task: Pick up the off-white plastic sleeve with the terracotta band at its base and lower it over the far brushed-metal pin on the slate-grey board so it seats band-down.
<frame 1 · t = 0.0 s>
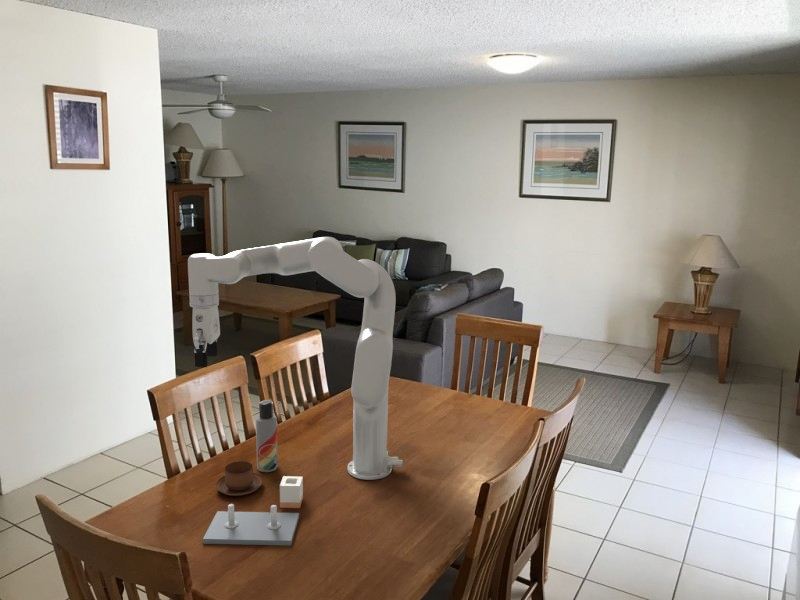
hand: (206, 361, 180), 31 cm above the table, tool pointing down, fingers open, 9 cm apart
cup and saucer: (239, 489, 175), on the table
sleeve: (291, 502, 168), on the table
lotion bottle: (267, 468, 187), on the table
pin board: (252, 530, 155), on the table
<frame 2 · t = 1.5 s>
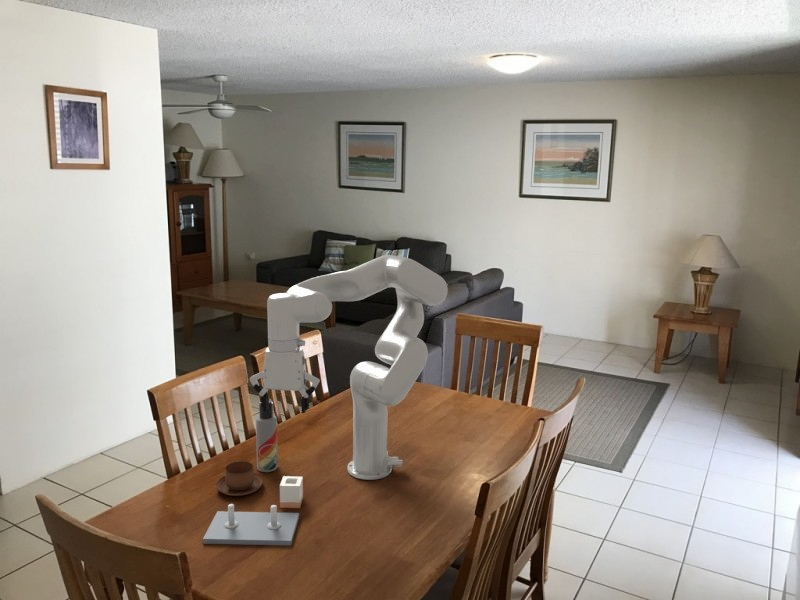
hand: (285, 410, 164), 25 cm above the table, tool pointing down, fingers open, 9 cm apart
nothing on the table moved.
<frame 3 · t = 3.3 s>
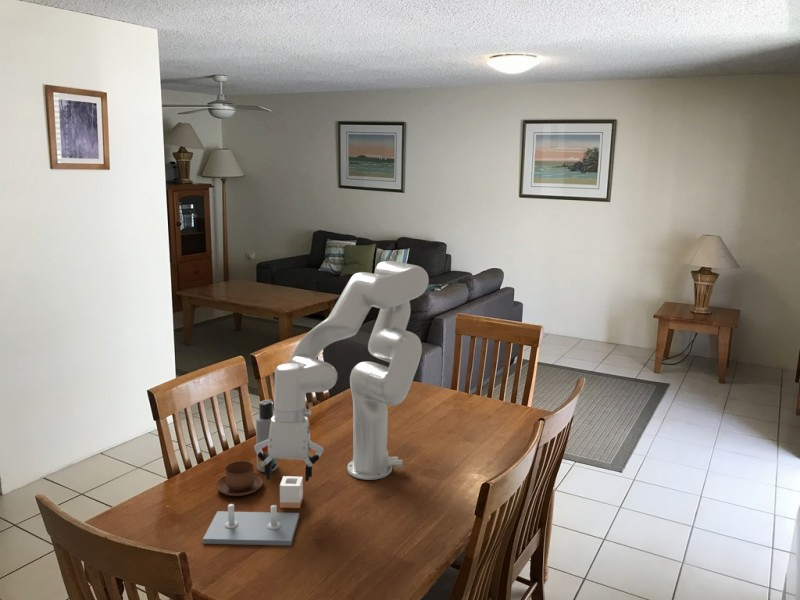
hand: (288, 478, 166), 7 cm above the table, tool pointing down, fingers open, 9 cm apart
nothing on the table moved.
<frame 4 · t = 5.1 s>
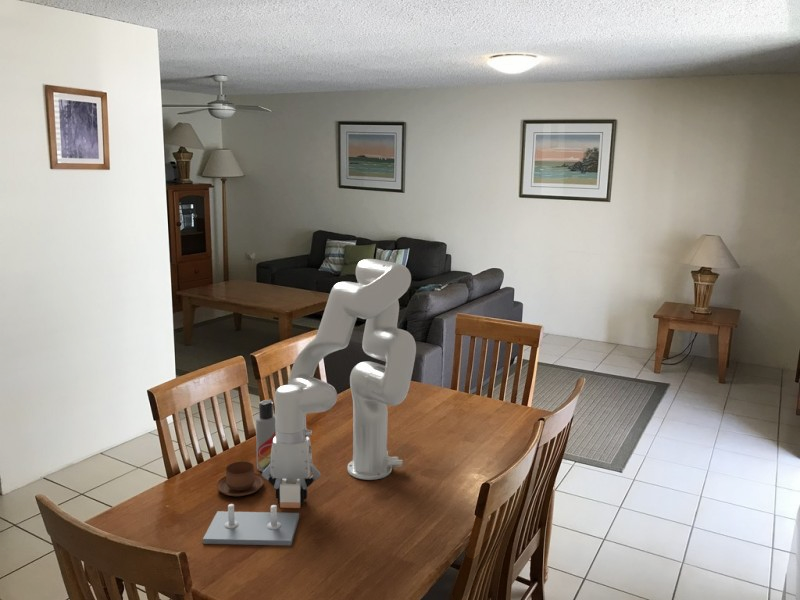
hand: (291, 500, 168), 1 cm above the table, tool pointing down, fingers closed on sleeve, 5 cm apart
sleeve: (291, 502, 168), on the table, touching gripper
everything else where it was.
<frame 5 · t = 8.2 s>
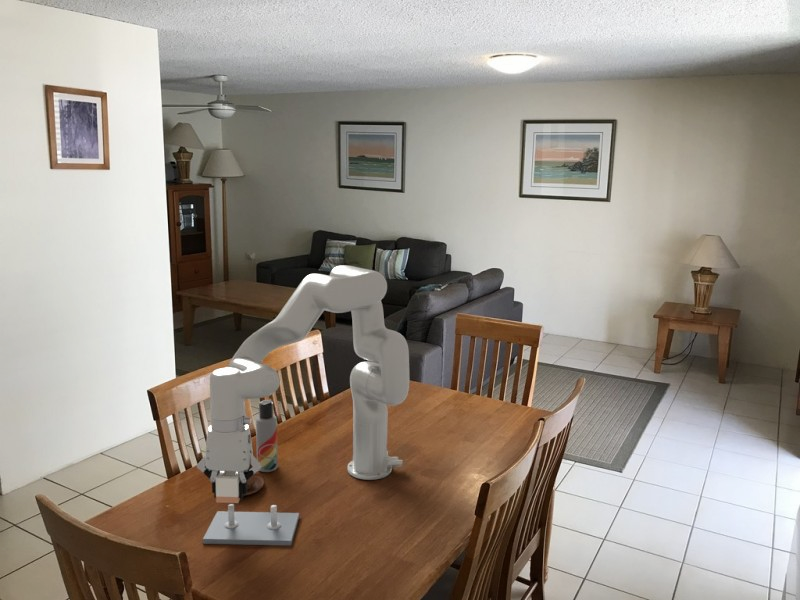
hand: (229, 495, 153), 9 cm above the table, tool pointing down, fingers closed on sleeve, 5 cm apart
sleeve: (229, 497, 154), point 8 cm above the table, touching gripper
everything else where it was.
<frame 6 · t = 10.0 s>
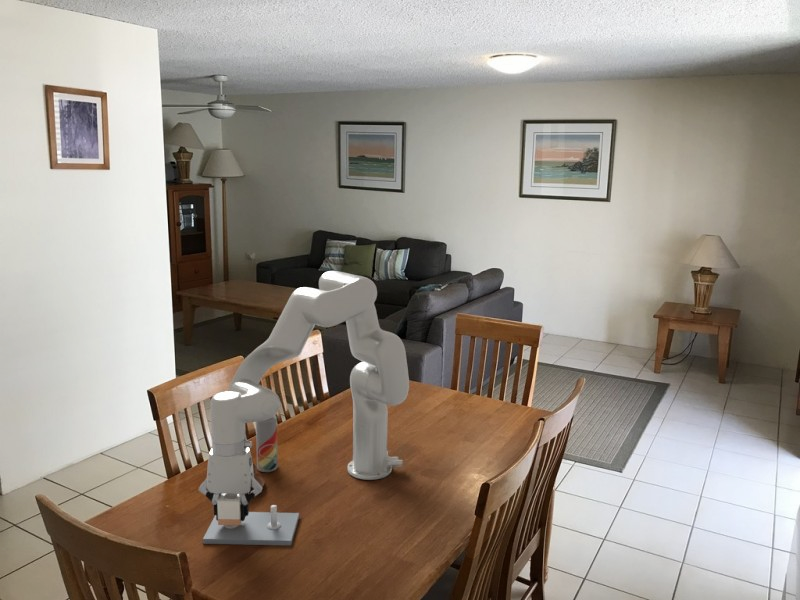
hand: (231, 516, 155), 3 cm above the table, tool pointing down, fingers closed on sleeve, 5 cm apart
sleeve: (231, 519, 155), point 3 cm above the table, touching gripper
everything else where it was.
when the fingers open (3 cm above the table, at t = 10.2 s): sleeve drops 1 cm, resting on pin board.
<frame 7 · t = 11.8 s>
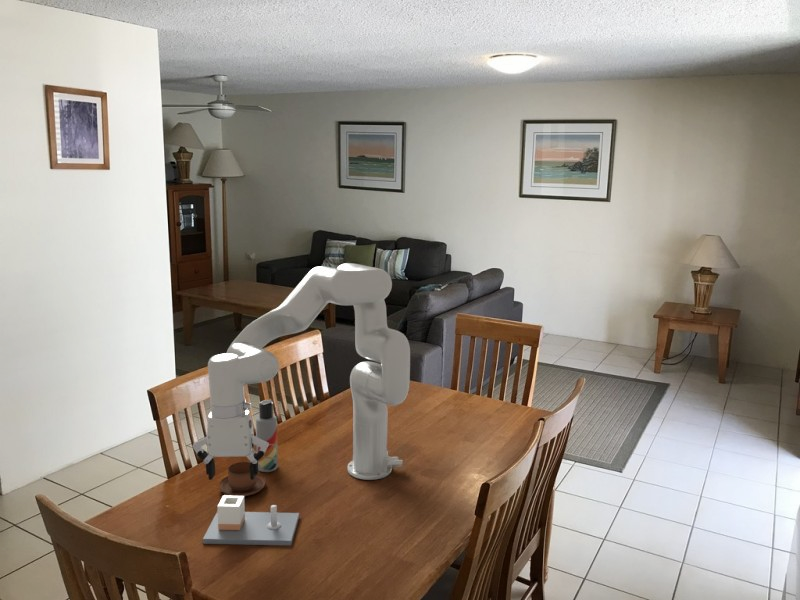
hand: (232, 476, 153), 13 cm above the table, tool pointing down, fingers open, 9 cm apart
sleeve: (231, 524, 155), point 1 cm above the table, touching pin board
everything else where it was.
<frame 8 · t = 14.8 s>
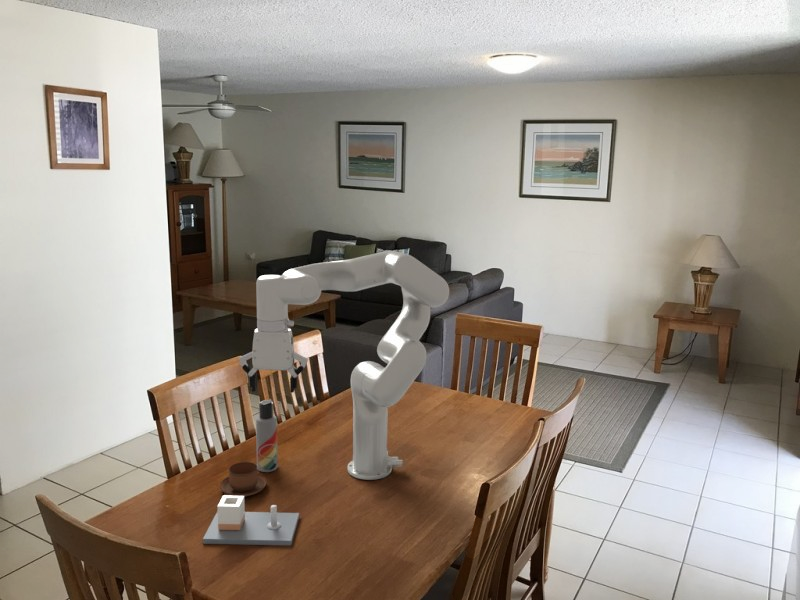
hand: (273, 390, 167), 28 cm above the table, tool pointing down, fingers open, 9 cm apart
at the end: sleeve 0.1 cm from the target spot on the pin board, point 1.4 cm above the pin board's base; sleeve tilted 0°; the gripper is holding nothing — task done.
